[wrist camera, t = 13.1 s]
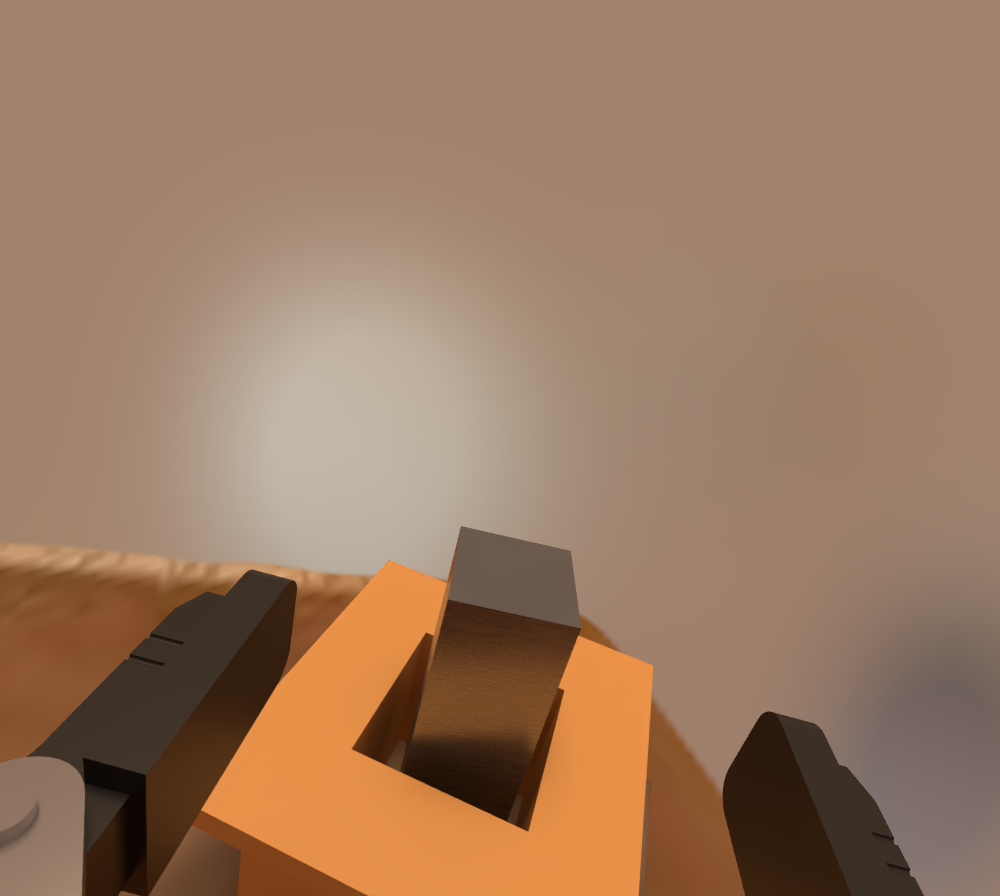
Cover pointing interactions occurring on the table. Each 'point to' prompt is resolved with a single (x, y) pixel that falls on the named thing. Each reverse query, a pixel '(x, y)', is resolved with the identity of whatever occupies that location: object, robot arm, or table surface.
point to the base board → (215, 864)
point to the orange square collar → (413, 804)
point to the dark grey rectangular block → (492, 668)
